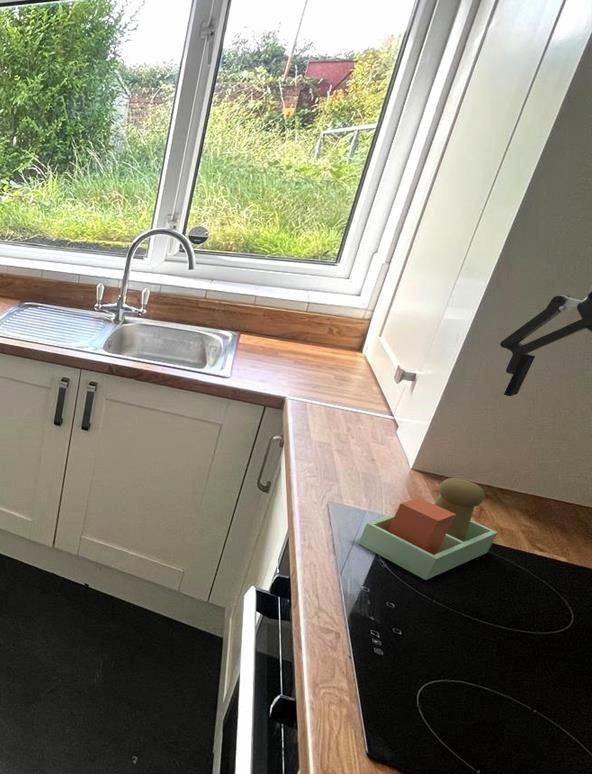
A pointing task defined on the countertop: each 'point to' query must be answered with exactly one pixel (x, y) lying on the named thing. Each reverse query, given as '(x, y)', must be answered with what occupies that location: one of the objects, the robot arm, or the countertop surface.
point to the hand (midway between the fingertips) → (570, 410)
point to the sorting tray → (419, 559)
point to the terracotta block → (421, 524)
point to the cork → (459, 503)
